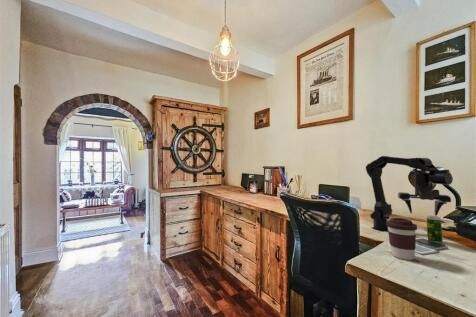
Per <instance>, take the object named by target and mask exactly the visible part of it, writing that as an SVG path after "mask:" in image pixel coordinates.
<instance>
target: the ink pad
mask: <svg viewBox="0 0 476 317" xmlns="http://www.w3.org/2000/svg"><path fill="white" fill-rule="evenodd" d="M416 244H417V245H420V246H423V247H427V248H430V249H433V250H436V251H440V250H441V251H442V250H447V249H448V248H449V246H448V245H446V244H443V243H437V242H434V241H430V240H428V238H416Z"/></svg>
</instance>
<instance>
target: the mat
mask: <svg viewBox="0 0 476 317" xmlns="http://www.w3.org/2000/svg"><path fill="white" fill-rule="evenodd" d="M437 253H439V254H440V250H433V249H430V248H427V247H424V246H420V245H417V244H416V248H415V254H418V255H419V256H425V255H432V254H437Z"/></svg>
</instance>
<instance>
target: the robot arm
mask: <svg viewBox="0 0 476 317" xmlns="http://www.w3.org/2000/svg"><path fill="white" fill-rule="evenodd" d="M388 164H393V165H400V166H401V165H402V166H406V167H409V168H411V169H412V170H410V171H409V174H414V194H413V193H412V194H410V193H409V192H405V191H403V192H401V191H400V192H398V193H397V197H398V199H400V200H402V201H404V202H405V204H406V206H407V208H408V209H407V210H409V213H410V214H412V213H413V210H412V200H411V199H420V200H423V201H424V200H430V201H434V210H433V211H434V216H437V217H438V214H439V212H440V210H441V208H442V206H444V204H445V205H447V204H448V203H451V202H452V199H451V196H450V195H447V194H440V190H439V189H432V187H431V184H433V185H447V186H448V185H451V184H452V183H453V180H454V179H453V176H452V173H451V172H450V170H449V169H438V168H437V167H436V166H435V165H434V163H433V161H432V160H431V159H430V158H429V157H411V158H410V157H407V158H406V157H398V156H397V157H396V156H389V155H381V156H379V157H378V158H377V159H375V160H373V161H371V162H370V163H367V165H366V166H365V171H366V173H367V175H368V176H369V177H370V180H371V185H372V189H373V194H374V199H375V203H374V208H373V212H372V213H371V214H370V218H371V220H373V221H372V222H373V226H371V229H374V230H377V231H380V232H385V231H387V232H388V230H389V229H388V226H387V225H386V222H387V221H388V220H390V217H391V216H392V213H393V209H392V204H391V203H388V202H387V201H386V196H385V191H384V186H383V182H382V178H381V177H382V175H383V169H384V168H385V167H386V166H387V165H388Z"/></svg>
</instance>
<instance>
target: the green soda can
mask: <svg viewBox="0 0 476 317" xmlns="http://www.w3.org/2000/svg"><path fill="white" fill-rule="evenodd" d="M426 235H427V240H430V241H434V242H437V243H441V244H443V240H444V239H443V222H442V218H441V217H440V216H438V215H437V216H435V215H426Z"/></svg>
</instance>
